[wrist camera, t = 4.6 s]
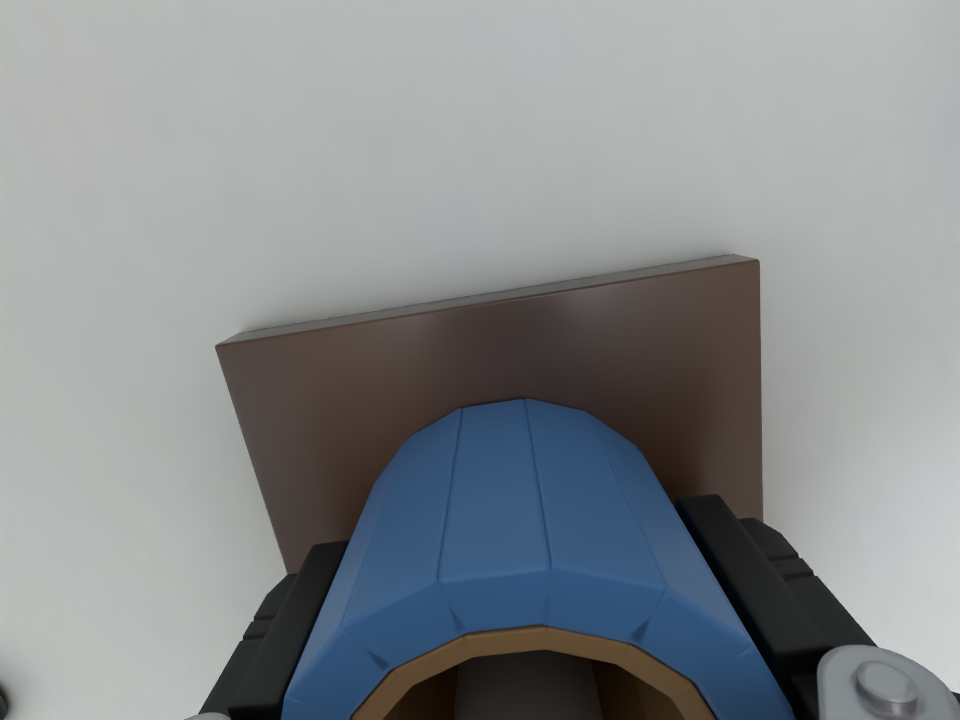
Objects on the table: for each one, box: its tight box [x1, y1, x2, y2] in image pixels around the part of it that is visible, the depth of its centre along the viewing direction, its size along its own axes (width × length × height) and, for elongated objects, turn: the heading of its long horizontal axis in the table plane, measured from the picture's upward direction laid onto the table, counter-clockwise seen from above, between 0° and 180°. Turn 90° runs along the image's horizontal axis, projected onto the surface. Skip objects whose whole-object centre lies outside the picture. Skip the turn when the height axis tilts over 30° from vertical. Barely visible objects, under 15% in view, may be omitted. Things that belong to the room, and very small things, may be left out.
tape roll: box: [281, 398, 796, 720], centre depth 9 cm, size 6×6×5 cm
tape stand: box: [215, 254, 763, 720], centre depth 9 cm, size 10×10×6 cm
